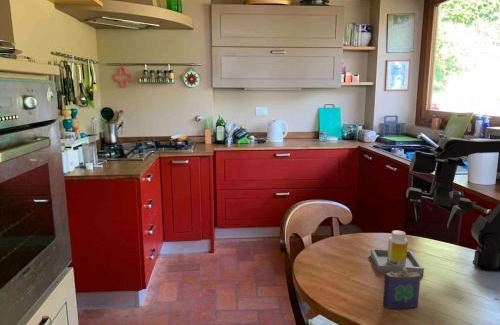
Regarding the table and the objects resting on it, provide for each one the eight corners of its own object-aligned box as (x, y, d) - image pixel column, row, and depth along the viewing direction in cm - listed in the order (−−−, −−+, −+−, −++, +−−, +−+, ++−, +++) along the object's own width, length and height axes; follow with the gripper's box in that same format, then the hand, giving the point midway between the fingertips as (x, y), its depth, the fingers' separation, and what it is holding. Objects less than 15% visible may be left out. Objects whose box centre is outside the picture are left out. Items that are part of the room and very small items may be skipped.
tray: (410, 257, 128) (411, 250, 128) (423, 276, 116) (423, 268, 115) (370, 255, 130) (370, 248, 129) (378, 273, 117) (379, 265, 117)
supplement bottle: (409, 266, 120) (412, 235, 119) (393, 267, 119) (396, 236, 117) (398, 258, 126) (401, 228, 124) (383, 260, 124) (385, 230, 122)
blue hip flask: (414, 303, 101) (418, 265, 99) (420, 309, 98) (424, 270, 96) (380, 304, 100) (383, 266, 98) (385, 310, 97) (389, 271, 95)
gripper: (414, 175, 115) (403, 224, 118) (483, 189, 110) (470, 240, 113) (411, 170, 126) (401, 215, 129) (474, 182, 121) (462, 228, 124)
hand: (432, 224), depth 123 cm, fingers open, 9 cm apart
